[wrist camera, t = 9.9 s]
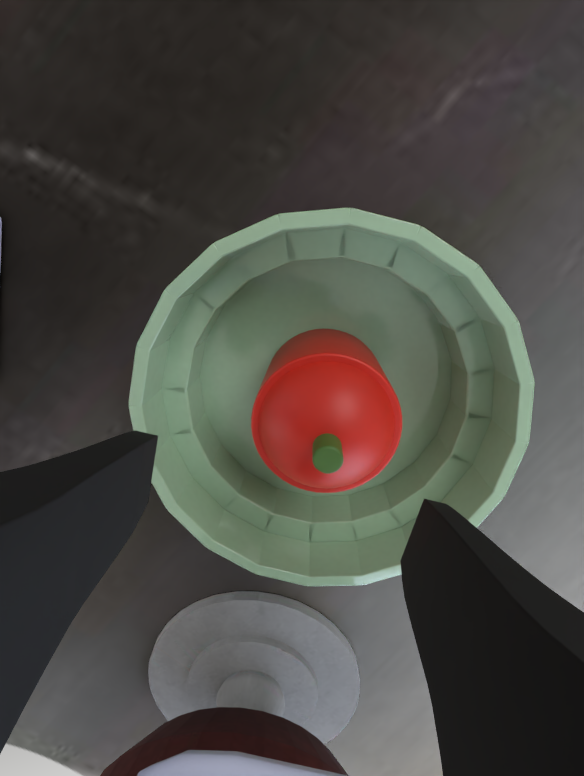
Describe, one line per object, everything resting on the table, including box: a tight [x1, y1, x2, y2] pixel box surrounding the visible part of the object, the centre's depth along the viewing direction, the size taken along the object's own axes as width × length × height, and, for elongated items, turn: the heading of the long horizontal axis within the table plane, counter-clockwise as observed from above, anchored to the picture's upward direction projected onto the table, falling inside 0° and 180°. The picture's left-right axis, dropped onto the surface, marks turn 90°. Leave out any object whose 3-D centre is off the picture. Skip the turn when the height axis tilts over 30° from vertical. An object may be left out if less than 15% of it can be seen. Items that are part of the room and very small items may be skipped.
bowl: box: [128, 207, 535, 587], centre depth 18 cm, size 14×14×5 cm
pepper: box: [251, 328, 402, 493], centre depth 16 cm, size 5×5×7 cm
